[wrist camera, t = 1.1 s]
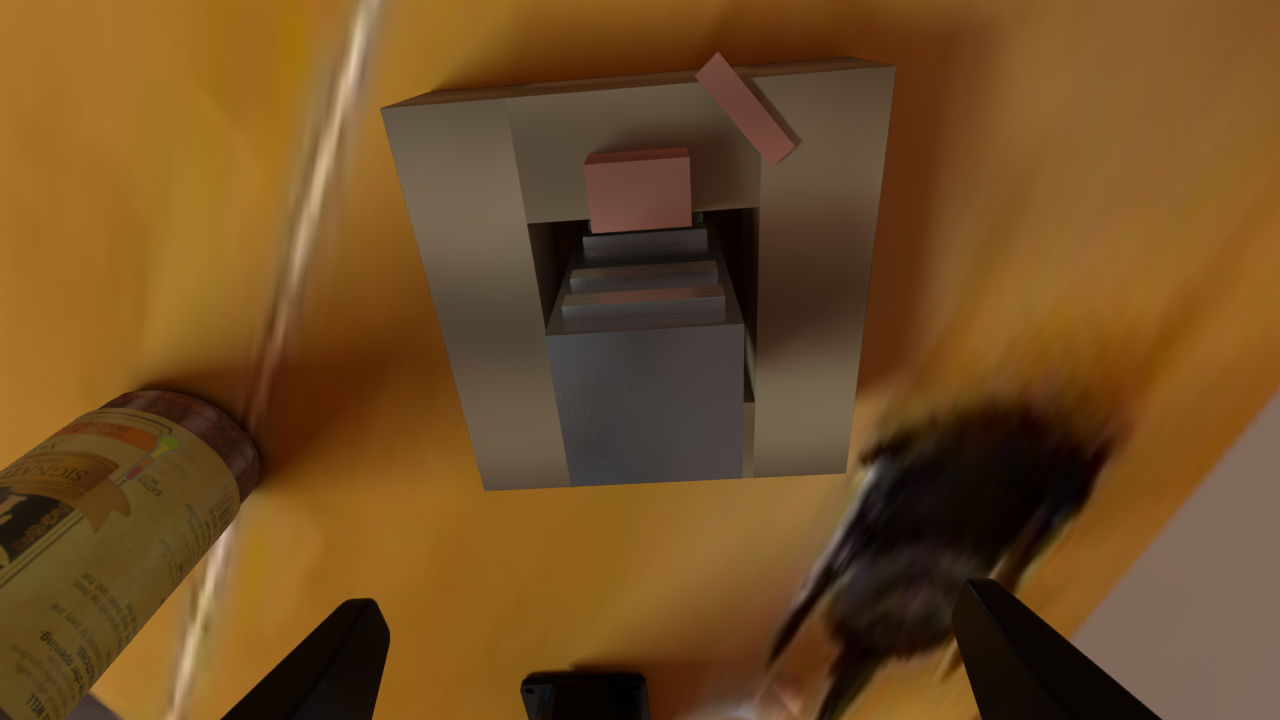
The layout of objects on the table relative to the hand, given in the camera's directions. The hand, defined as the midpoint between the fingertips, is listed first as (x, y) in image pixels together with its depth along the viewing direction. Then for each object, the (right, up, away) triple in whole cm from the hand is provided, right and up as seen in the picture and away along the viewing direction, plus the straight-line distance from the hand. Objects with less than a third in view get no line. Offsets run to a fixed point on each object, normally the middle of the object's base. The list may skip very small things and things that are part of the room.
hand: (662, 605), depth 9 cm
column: (0, +7, +11) cm, 13 cm away
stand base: (0, +7, +11) cm, 13 cm away
